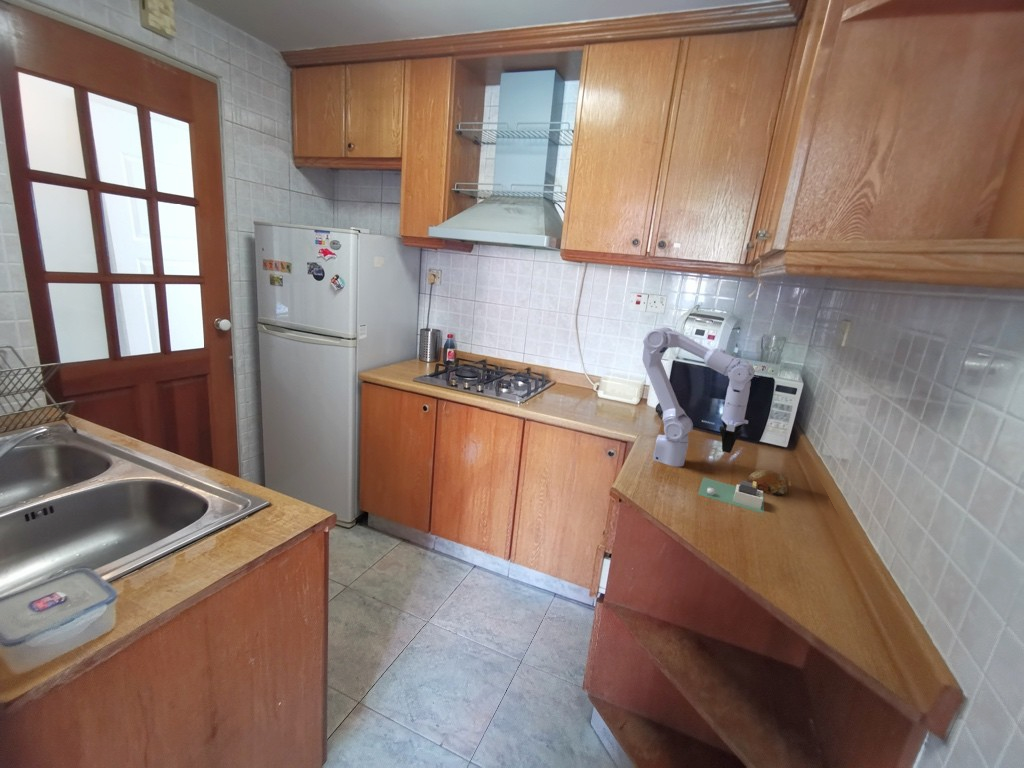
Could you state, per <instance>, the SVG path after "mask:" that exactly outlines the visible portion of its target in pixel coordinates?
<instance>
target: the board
mask: <svg viewBox="0 0 1024 768" xmlns="http://www.w3.org/2000/svg"><path fill="white" fill-rule="evenodd" d="M736 486H737V485H733V484H728V483H725V482H722V481H717V480H715V479H711V478H707V477H704V476H703V477H702V480H701V483H700V486H699V489H698V493H697V495H698V496H702V497H705V498H709V499H712V500H715V501H718V502H723V503H726V504H730V505H732V506H736V507H739V508H744V509H747V510H750V511H753V512H757V513H761V514H764V513H765V511H764V509H765V493H763V501H762V505H761V509H757V508H753V507H750V506H746V505H743V504H739V503H736V502H733V501H734V494H735V490H736Z"/></svg>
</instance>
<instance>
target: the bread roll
mask: <svg viewBox="0 0 1024 768" xmlns="http://www.w3.org/2000/svg"><path fill="white" fill-rule="evenodd" d="M753 481H755V482H756V484H758V488H757V490H760V491H763V494H764V495H765V494H766V495H770V496H774V497H778V496H779V495H780V496H783V495H784V494H787V492H788V484H787V482H786V479H785V478H784V476H783V475H782V474H780V473H778V472H777V471H776V470H772V469H760V468H759V469H758V470H754V471H753V472H752V473H751V474H750V475H748V478H747V482H750V483H753Z"/></svg>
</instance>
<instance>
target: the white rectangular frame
mask: <svg viewBox="0 0 1024 768" xmlns="http://www.w3.org/2000/svg"><path fill="white" fill-rule="evenodd" d="M735 486H736V490H735V494H734V501H733V502H736V503H739V504H743V505H746V506H750V507H753V508H757V509H761V505H762V501H763V494H764V493H763V491H760V490H757V493H756V496H753V495H749V494H746V493H742V492H738V491H739V487H740V484H737V483H736V485H735Z"/></svg>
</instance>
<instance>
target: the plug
mask: <svg viewBox="0 0 1024 768" xmlns="http://www.w3.org/2000/svg"><path fill="white" fill-rule="evenodd" d="M739 485H740V487H739V491H738V492H742V493H746V494H749V495H753V496H756V493H757V488H758V484H756V482H755V481H753V483H750V482H748V480H747V481H746V480H744V479H743V480H742V479H741V480H740V484H739Z"/></svg>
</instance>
